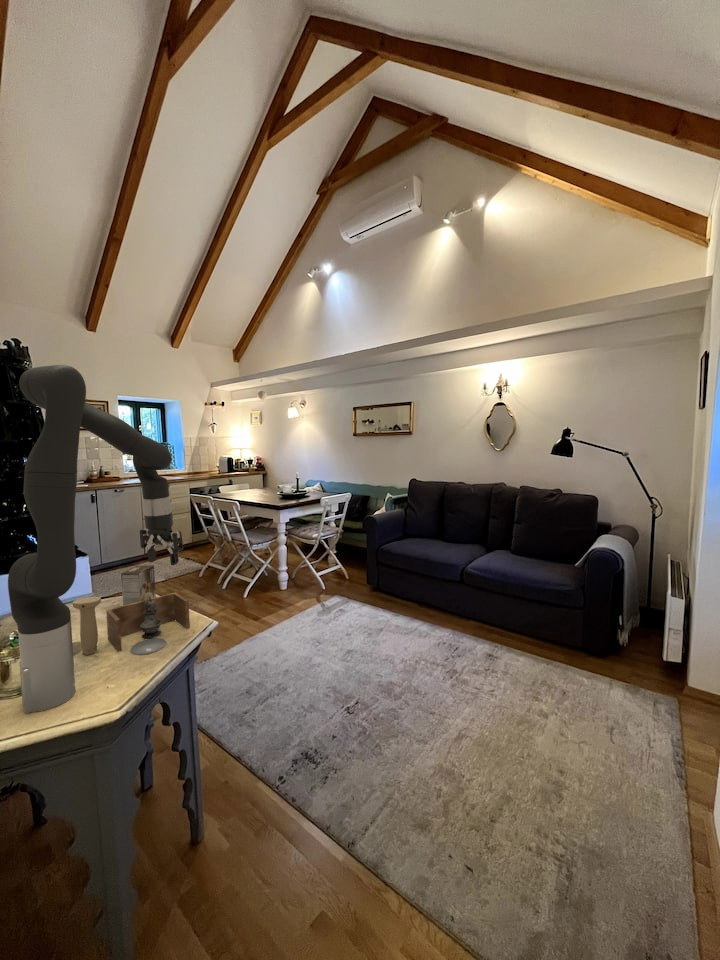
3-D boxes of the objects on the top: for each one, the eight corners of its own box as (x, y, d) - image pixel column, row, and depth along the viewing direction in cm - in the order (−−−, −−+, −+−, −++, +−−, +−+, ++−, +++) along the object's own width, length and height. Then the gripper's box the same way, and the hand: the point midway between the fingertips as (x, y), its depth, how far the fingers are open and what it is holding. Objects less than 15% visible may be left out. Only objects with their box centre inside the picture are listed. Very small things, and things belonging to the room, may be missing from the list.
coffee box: (139, 609, 139) (136, 565, 138) (156, 609, 139) (154, 564, 138) (123, 620, 130) (120, 573, 129) (142, 620, 130) (139, 573, 129)
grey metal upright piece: (136, 636, 118) (134, 598, 117) (154, 629, 123) (152, 591, 122) (148, 641, 115) (146, 601, 114) (166, 633, 120) (164, 595, 120)
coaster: (136, 658, 106) (136, 657, 106) (126, 647, 112) (126, 645, 112) (171, 646, 112) (171, 645, 112) (160, 636, 118) (160, 635, 118)
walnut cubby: (117, 651, 109) (115, 620, 109) (107, 639, 117) (106, 609, 116) (189, 628, 124) (188, 600, 123) (177, 618, 131) (175, 592, 130)
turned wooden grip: (80, 649, 111) (77, 598, 109) (106, 646, 112) (103, 596, 111) (72, 658, 106) (69, 604, 105) (99, 655, 107) (96, 602, 106)
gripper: (129, 513, 116) (135, 564, 119) (167, 516, 112) (172, 570, 115) (149, 507, 123) (155, 556, 126) (186, 510, 119) (191, 560, 122)
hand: (163, 562), depth 120 cm, fingers open, 8 cm apart
